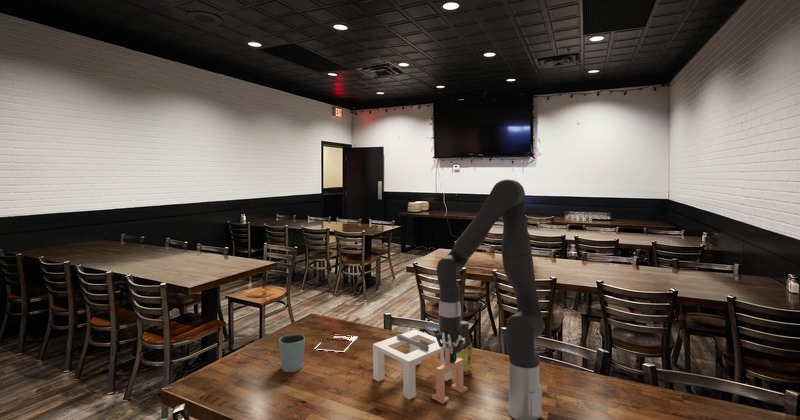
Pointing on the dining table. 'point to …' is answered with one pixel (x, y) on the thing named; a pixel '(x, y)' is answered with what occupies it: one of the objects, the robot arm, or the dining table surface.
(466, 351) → the sauce bottle
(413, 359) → the small white table
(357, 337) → the white thin flat frame
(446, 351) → the tan wooden branched piece
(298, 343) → the blue grey cup
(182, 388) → the dining table surface
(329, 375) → the dining table surface
